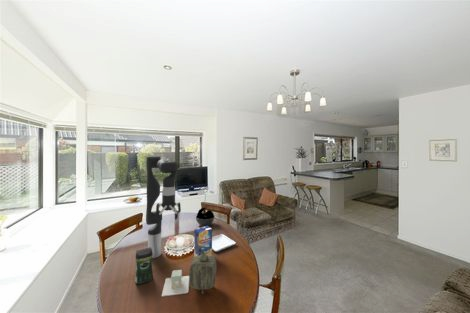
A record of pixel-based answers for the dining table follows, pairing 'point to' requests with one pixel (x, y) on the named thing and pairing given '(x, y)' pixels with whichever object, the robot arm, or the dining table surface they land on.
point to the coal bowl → (205, 217)
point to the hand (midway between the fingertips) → (168, 219)
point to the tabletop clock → (202, 271)
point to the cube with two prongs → (176, 277)
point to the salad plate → (221, 242)
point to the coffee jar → (143, 265)
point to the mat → (176, 287)
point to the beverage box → (203, 240)
